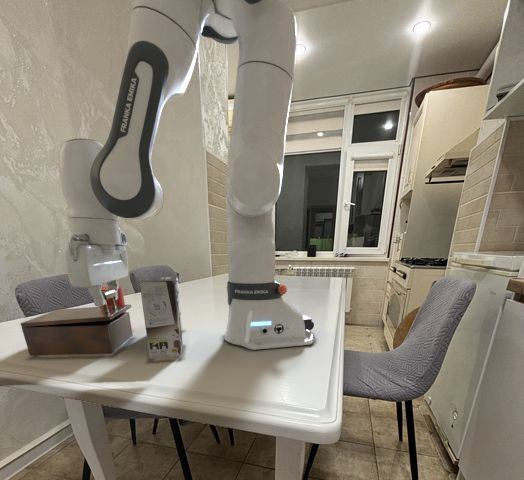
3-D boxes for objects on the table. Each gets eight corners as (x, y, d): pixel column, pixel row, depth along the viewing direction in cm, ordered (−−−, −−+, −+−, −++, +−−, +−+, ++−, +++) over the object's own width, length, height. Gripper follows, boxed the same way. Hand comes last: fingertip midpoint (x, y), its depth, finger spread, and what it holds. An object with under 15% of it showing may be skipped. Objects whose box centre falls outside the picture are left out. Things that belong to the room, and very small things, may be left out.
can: (132, 329, 81) (125, 286, 77) (124, 336, 75) (116, 289, 71) (110, 330, 80) (102, 286, 76) (100, 336, 75) (91, 289, 71)
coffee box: (182, 359, 60) (174, 280, 54) (149, 362, 59) (137, 281, 53) (183, 345, 68) (177, 275, 63) (155, 347, 67) (145, 276, 62)
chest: (133, 338, 73) (129, 312, 71) (112, 356, 62) (106, 325, 59) (64, 339, 72) (58, 313, 70) (30, 358, 60) (21, 327, 58)
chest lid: (131, 307, 71) (126, 285, 69) (109, 320, 59) (103, 294, 57) (58, 312, 70) (51, 290, 68) (21, 327, 58) (11, 300, 56)
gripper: (87, 234, 50) (101, 313, 54) (129, 236, 69) (137, 295, 73) (48, 233, 49) (65, 313, 54) (102, 236, 68) (111, 295, 73)
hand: (107, 302), depth 64 cm, fingers closed on chest lid, 5 cm apart
